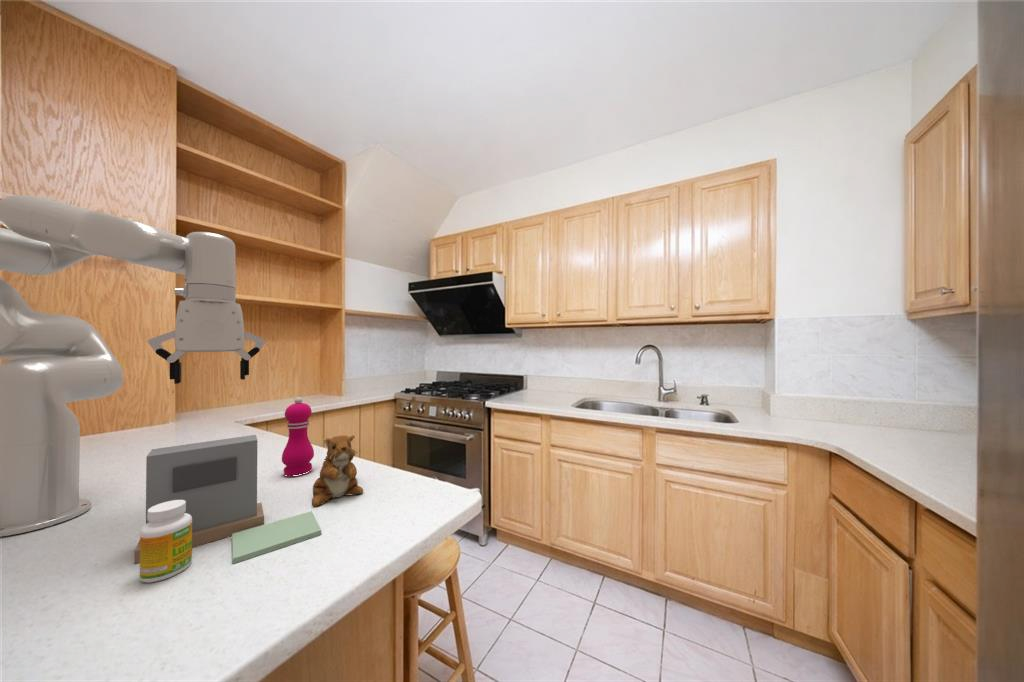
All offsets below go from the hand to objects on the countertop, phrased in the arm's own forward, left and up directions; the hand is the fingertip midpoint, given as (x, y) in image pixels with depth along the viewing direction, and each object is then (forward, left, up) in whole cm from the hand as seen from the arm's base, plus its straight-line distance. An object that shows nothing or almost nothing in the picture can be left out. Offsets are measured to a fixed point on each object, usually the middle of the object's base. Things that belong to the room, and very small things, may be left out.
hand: (211, 381), depth 66 cm
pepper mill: (+17, +14, -27) cm, 35 cm away
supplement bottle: (-4, -18, -27) cm, 33 cm away
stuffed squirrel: (+22, -5, -27) cm, 35 cm away
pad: (+9, -18, -27) cm, 34 cm away
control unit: (0, -9, -27) cm, 28 cm away
